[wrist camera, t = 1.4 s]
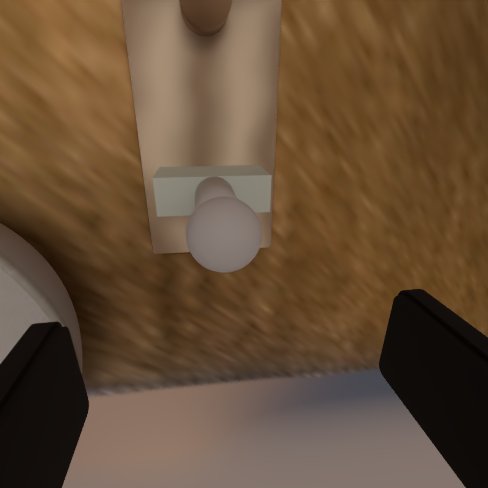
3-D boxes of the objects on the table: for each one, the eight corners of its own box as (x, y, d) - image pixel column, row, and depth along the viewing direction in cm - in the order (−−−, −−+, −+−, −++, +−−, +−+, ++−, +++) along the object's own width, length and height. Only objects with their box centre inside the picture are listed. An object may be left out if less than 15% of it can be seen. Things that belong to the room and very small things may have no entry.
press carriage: (259, 159, 28) (323, 205, 14) (258, 201, 29) (315, 280, 16) (159, 161, 26) (121, 213, 13) (163, 205, 28) (134, 294, 14)
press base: (278, -73, 23) (310, -144, 17) (266, 239, 33) (283, 269, 27) (114, -89, 21) (81, -174, 15) (155, 246, 32) (146, 279, 25)
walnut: (227, -21, 22) (232, -40, 20) (228, 37, 24) (232, 27, 21) (178, -24, 22) (175, -44, 19) (182, 35, 23) (180, 25, 20)
